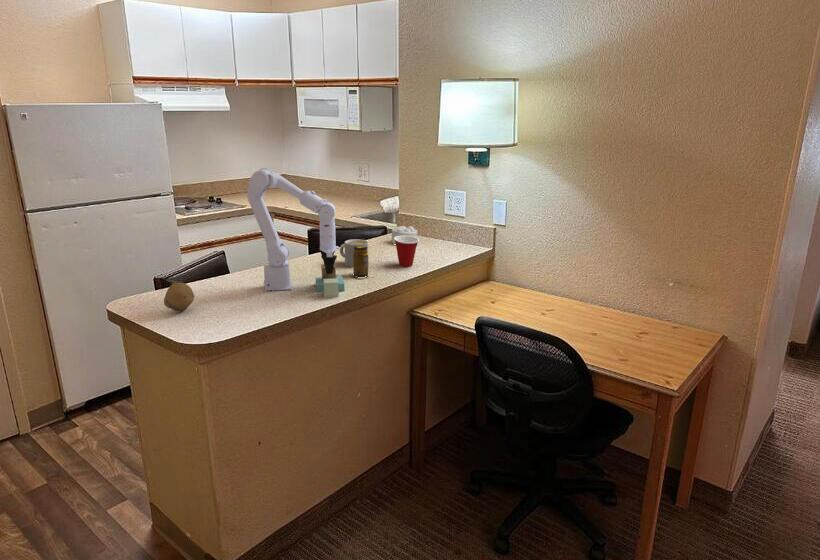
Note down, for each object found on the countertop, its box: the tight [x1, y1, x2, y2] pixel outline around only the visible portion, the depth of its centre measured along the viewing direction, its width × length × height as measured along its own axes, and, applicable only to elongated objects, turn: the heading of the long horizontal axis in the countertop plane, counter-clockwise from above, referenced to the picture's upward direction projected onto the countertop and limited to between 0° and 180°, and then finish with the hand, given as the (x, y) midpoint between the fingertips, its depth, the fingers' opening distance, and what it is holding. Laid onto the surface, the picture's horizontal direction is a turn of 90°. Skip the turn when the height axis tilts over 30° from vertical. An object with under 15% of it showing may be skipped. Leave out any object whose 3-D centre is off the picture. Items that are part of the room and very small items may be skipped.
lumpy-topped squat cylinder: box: [391, 225, 418, 245], centre depth 283 cm, size 10×13×9 cm
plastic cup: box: [394, 236, 420, 268], centre depth 246 cm, size 11×11×12 cm
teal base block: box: [315, 275, 345, 293], centre depth 217 cm, size 10×10×4 cm
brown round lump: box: [163, 282, 195, 312], centre depth 189 cm, size 9×9×10 cm
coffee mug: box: [339, 238, 369, 268], centre depth 248 cm, size 13×10×10 cm
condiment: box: [349, 245, 375, 280], centre depth 231 cm, size 7×8×12 cm
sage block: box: [323, 278, 340, 298], centre depth 208 cm, size 5×5×6 cm
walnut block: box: [320, 263, 337, 281], centre depth 216 cm, size 5×5×6 cm
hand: (328, 271), depth 216 cm, fingers open, 6 cm apart
